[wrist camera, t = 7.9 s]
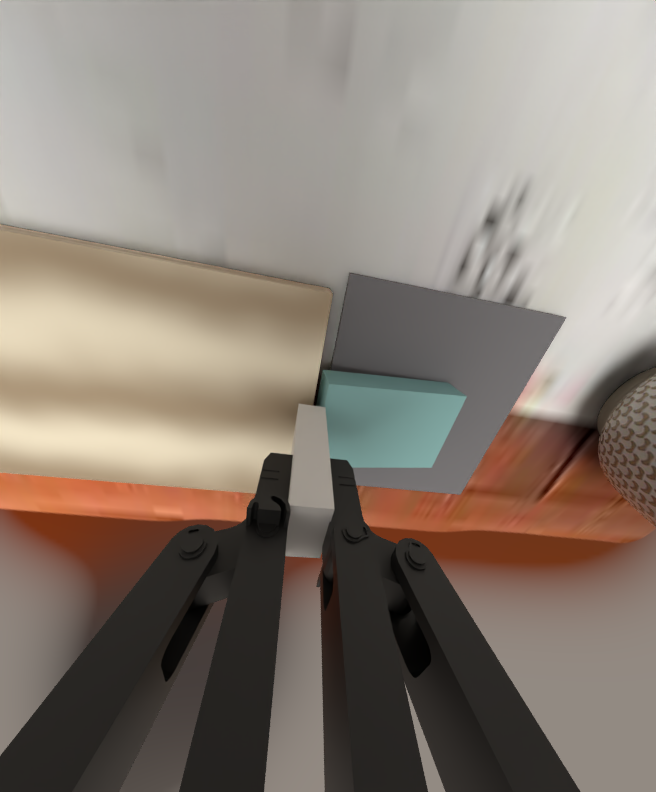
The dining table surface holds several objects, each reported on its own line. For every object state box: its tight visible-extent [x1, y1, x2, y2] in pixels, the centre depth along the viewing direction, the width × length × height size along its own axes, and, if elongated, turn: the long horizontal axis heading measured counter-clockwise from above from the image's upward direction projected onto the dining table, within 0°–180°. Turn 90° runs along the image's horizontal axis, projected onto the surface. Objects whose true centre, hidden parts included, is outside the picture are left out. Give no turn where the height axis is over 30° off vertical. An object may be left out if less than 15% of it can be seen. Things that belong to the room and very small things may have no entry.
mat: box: [330, 273, 566, 495], centre depth 19 cm, size 16×14×1 cm
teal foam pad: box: [316, 370, 467, 468], centre depth 17 cm, size 9×6×2 cm, turn 79°
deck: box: [0, 224, 333, 493], centre depth 15 cm, size 14×22×3 cm, turn 80°
